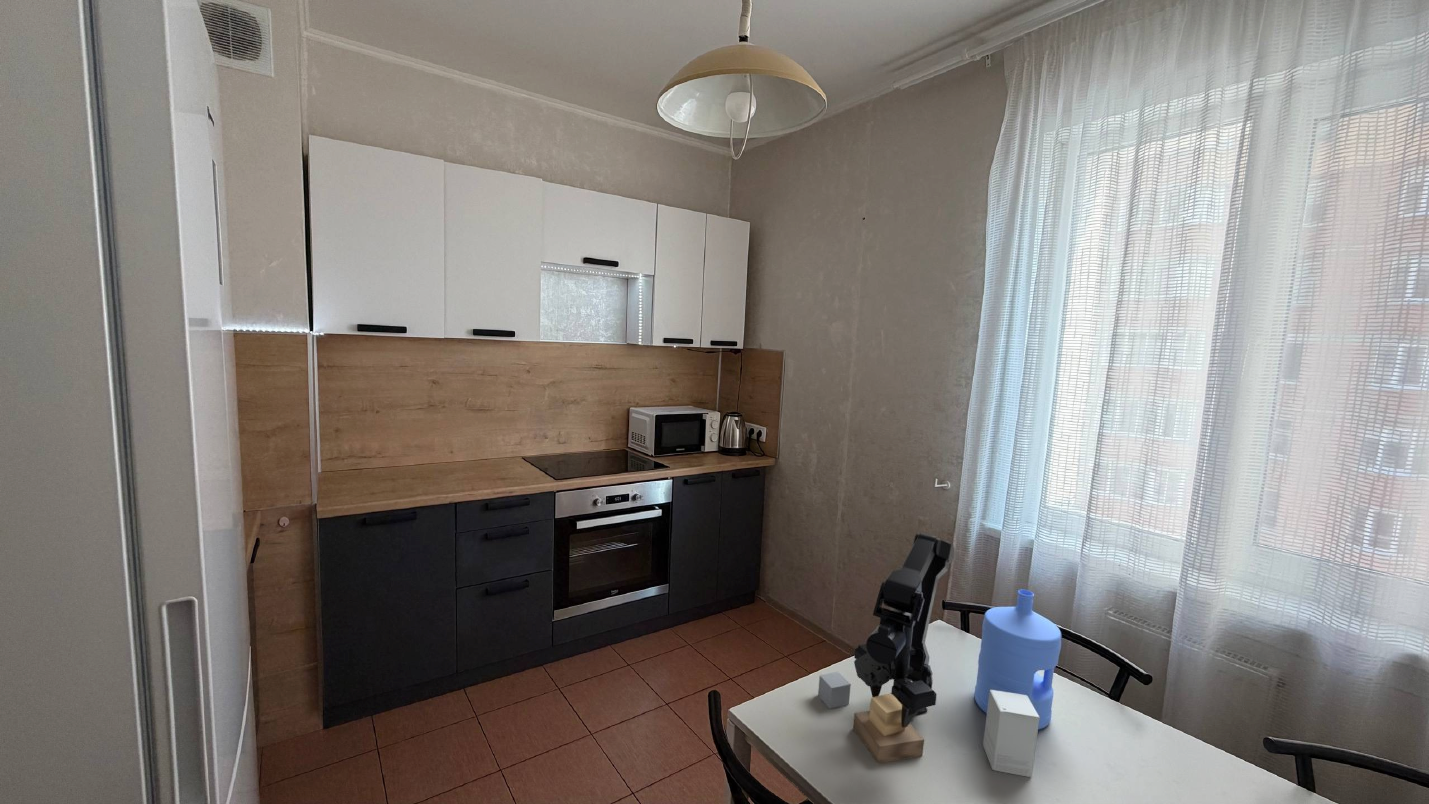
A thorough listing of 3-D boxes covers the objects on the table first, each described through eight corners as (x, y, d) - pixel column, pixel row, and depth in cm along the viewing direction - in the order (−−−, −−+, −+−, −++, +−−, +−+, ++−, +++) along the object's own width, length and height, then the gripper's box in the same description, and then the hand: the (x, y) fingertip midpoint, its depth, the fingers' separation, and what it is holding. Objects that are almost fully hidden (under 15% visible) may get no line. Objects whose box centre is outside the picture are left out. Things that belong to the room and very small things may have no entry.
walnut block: (894, 724, 124) (895, 707, 124) (922, 757, 115) (924, 739, 114) (852, 730, 122) (854, 712, 121) (877, 765, 112) (879, 746, 112)
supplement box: (1032, 778, 110) (1041, 718, 109) (991, 770, 112) (999, 710, 110) (1020, 751, 118) (1028, 694, 116) (981, 744, 119) (988, 688, 117)
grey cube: (836, 691, 134) (838, 671, 134) (848, 704, 130) (850, 684, 129) (817, 695, 132) (819, 675, 132) (829, 709, 128) (831, 688, 127)
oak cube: (888, 714, 121) (890, 693, 121) (904, 730, 117) (906, 708, 116) (869, 719, 119) (871, 697, 119) (884, 736, 115) (886, 713, 114)
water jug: (975, 719, 127) (989, 599, 123) (972, 680, 141) (985, 572, 138) (1055, 741, 121) (1073, 616, 118) (1044, 699, 136) (1059, 586, 132)
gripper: (836, 623, 121) (830, 692, 123) (894, 674, 104) (886, 752, 106) (879, 616, 125) (873, 682, 127) (942, 664, 108) (933, 739, 110)
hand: (889, 712), depth 117 cm, fingers open, 9 cm apart
